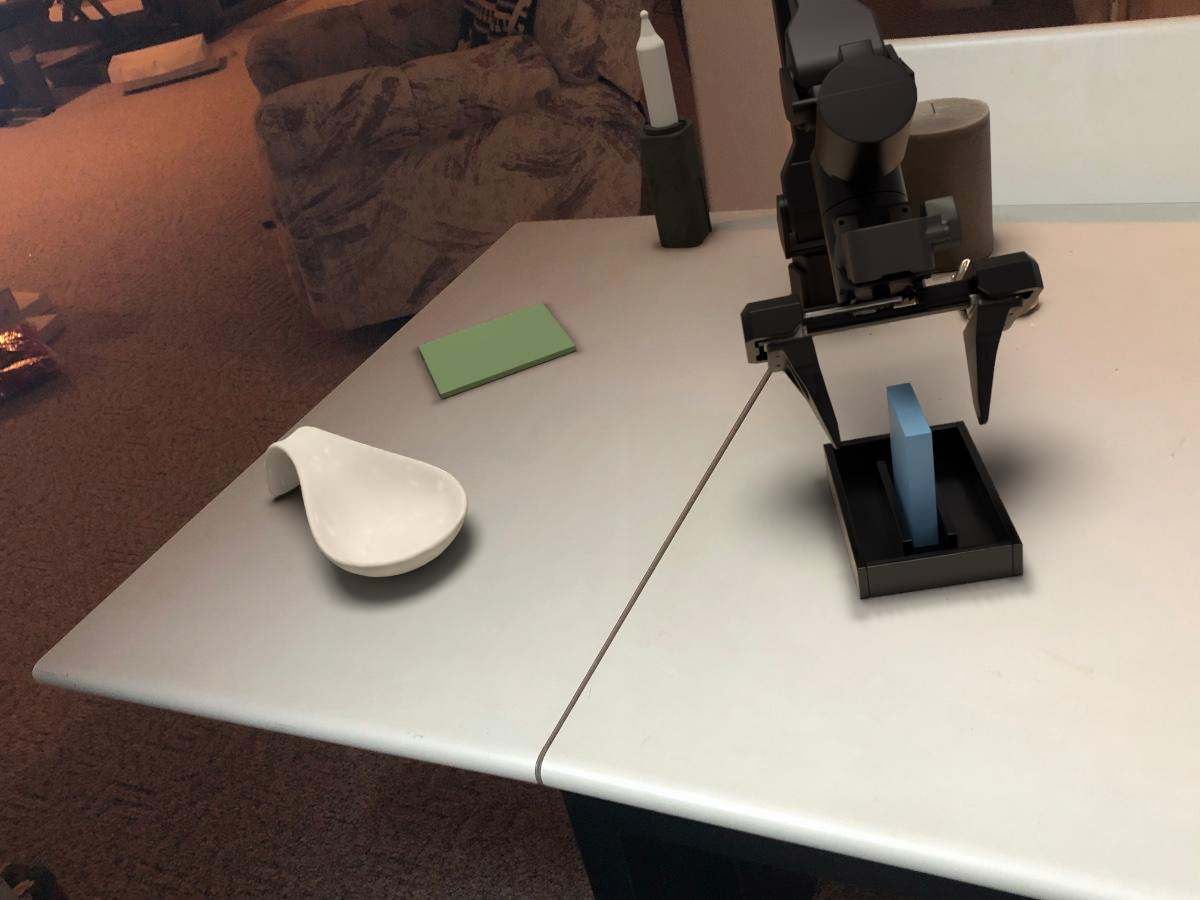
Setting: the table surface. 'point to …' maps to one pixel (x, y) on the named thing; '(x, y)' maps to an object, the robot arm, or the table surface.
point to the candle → (670, 151)
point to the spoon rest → (368, 501)
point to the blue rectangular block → (913, 464)
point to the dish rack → (964, 517)
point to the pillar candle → (953, 171)
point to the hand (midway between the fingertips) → (910, 435)
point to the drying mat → (495, 349)
